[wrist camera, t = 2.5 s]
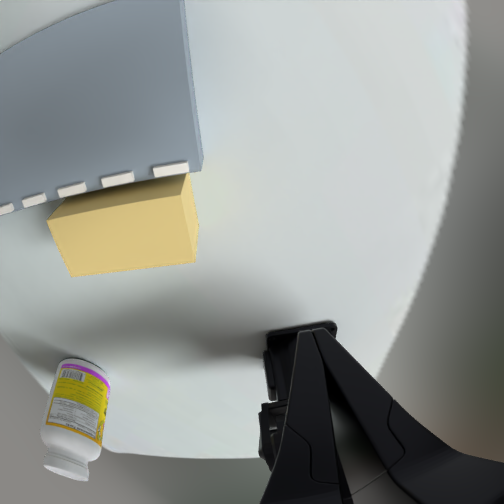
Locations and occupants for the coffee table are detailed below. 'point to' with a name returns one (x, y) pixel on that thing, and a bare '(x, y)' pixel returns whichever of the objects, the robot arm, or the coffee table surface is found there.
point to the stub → (127, 227)
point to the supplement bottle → (75, 418)
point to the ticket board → (97, 104)
